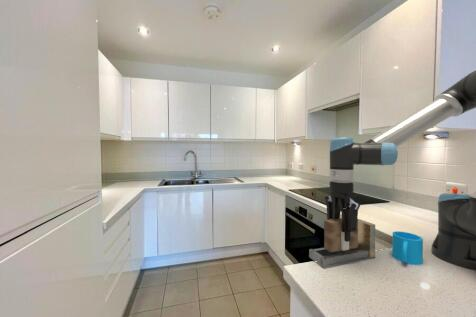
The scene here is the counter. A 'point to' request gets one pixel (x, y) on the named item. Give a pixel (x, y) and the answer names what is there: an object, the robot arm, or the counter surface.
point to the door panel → (337, 235)
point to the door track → (352, 255)
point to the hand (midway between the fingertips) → (340, 247)
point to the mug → (407, 248)
